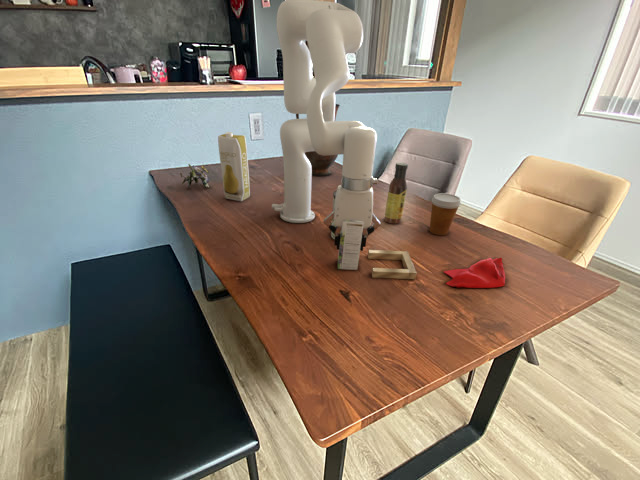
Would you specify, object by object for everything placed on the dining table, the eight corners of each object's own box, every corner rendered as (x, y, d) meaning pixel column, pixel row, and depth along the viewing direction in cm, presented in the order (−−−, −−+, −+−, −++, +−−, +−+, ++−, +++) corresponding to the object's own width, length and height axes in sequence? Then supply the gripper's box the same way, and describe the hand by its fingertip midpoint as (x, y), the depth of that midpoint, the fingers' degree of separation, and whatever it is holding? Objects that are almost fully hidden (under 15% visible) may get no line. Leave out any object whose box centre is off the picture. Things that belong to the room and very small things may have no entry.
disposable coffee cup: (437, 239, 122) (446, 204, 115) (419, 228, 129) (426, 194, 122) (458, 234, 126) (468, 200, 119) (439, 224, 133) (447, 191, 125)
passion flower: (208, 200, 157) (214, 181, 147) (182, 198, 152) (186, 179, 142) (203, 179, 160) (208, 159, 150) (177, 176, 155) (181, 156, 145)
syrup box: (337, 259, 108) (341, 212, 99) (357, 261, 108) (363, 213, 99) (337, 269, 103) (341, 220, 94) (358, 270, 103) (364, 221, 94)
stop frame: (372, 277, 100) (373, 271, 99) (367, 255, 111) (368, 249, 110) (415, 279, 101) (416, 273, 99) (406, 257, 111) (407, 251, 110)
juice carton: (222, 198, 144) (213, 132, 130) (233, 193, 150) (226, 128, 136) (242, 202, 142) (236, 135, 127) (252, 196, 148) (248, 131, 133)
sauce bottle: (400, 225, 131) (411, 167, 119) (383, 223, 131) (392, 165, 119) (401, 218, 136) (411, 162, 124) (384, 216, 137) (393, 160, 125)
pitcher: (343, 176, 176) (348, 104, 157) (303, 180, 168) (304, 105, 150) (327, 167, 187) (331, 99, 169) (289, 170, 179) (288, 100, 161)
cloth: (468, 299, 94) (471, 291, 92) (431, 274, 103) (433, 267, 102) (532, 276, 105) (535, 269, 103) (493, 256, 114) (495, 249, 113)
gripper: (388, 180, 94) (378, 243, 105) (322, 176, 94) (319, 241, 105) (392, 189, 88) (381, 255, 99) (321, 185, 88) (318, 253, 99)
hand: (349, 247), depth 102 cm, fingers closed on syrup box, 5 cm apart
